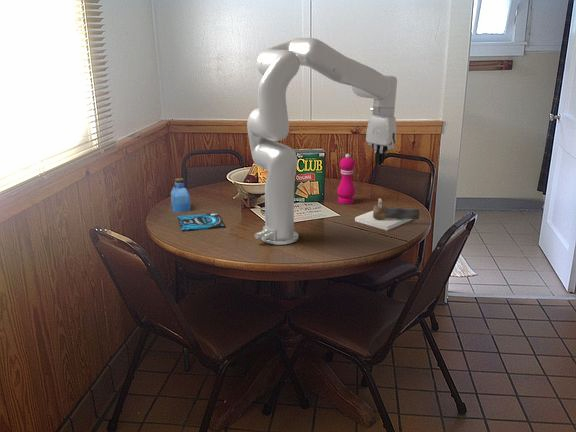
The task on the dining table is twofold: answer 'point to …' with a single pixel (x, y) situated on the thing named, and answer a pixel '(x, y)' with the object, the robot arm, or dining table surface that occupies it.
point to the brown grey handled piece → (394, 212)
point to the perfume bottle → (180, 197)
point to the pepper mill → (346, 181)
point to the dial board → (380, 221)
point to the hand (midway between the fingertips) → (379, 163)
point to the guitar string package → (201, 222)
